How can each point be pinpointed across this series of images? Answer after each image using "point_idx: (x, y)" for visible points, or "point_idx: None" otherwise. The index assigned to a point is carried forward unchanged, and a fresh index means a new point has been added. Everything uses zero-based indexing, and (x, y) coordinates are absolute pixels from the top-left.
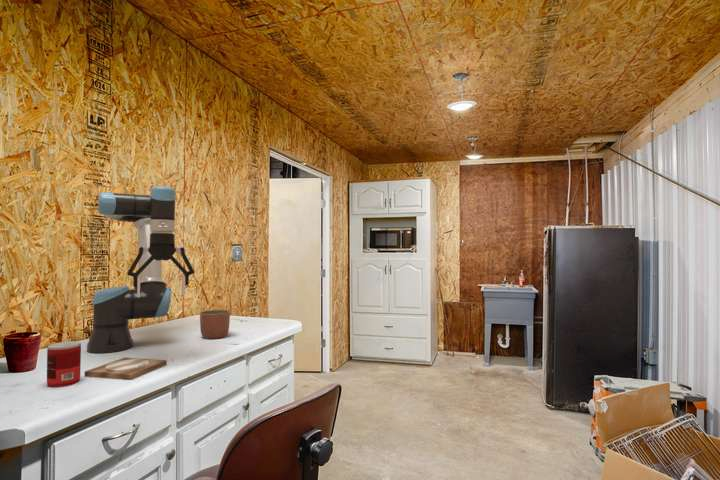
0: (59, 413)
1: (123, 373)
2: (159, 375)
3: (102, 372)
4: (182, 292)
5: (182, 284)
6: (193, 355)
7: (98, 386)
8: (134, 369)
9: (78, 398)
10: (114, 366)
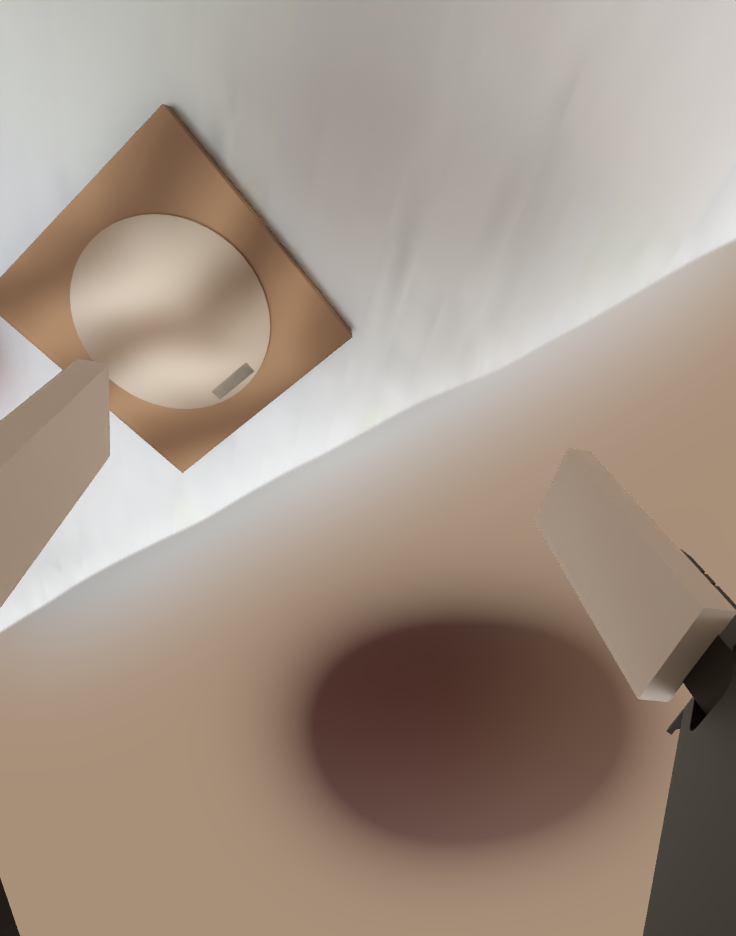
0: (5, 627)
1: (154, 439)
2: (287, 467)
3: None
4: (552, 521)
5: (599, 571)
6: (520, 230)
7: None
8: (198, 408)
9: None
10: (112, 323)
